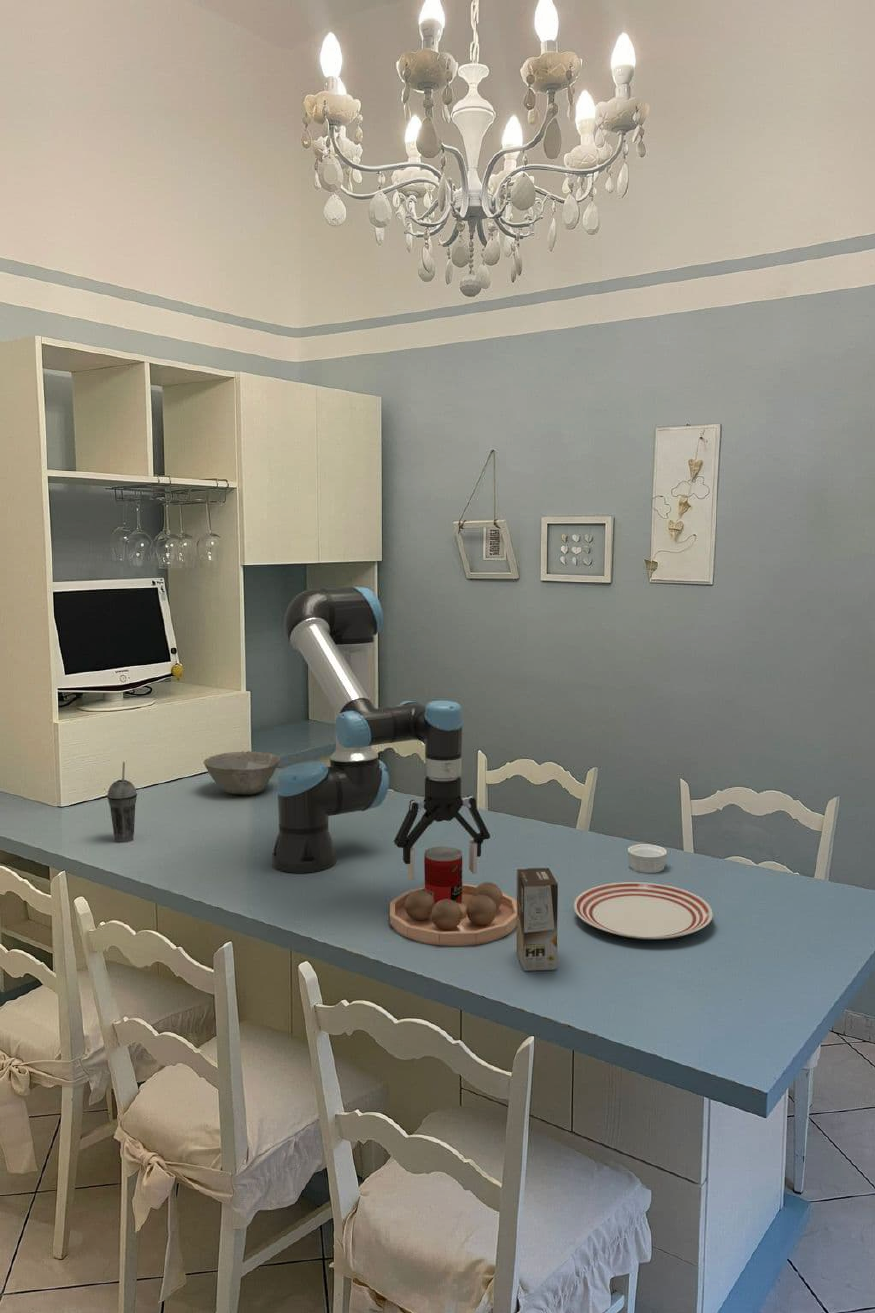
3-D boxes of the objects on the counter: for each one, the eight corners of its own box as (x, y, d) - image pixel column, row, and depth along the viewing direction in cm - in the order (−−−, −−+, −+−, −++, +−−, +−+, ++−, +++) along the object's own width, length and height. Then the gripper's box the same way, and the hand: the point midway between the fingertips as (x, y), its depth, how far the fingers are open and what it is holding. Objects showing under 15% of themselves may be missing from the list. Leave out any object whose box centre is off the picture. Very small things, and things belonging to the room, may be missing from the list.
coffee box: (558, 970, 179) (559, 884, 177) (523, 972, 179) (523, 885, 176) (548, 948, 188) (549, 867, 186) (514, 950, 188) (515, 868, 185)
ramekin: (666, 875, 227) (667, 857, 227) (627, 873, 229) (627, 855, 228) (665, 863, 236) (666, 845, 235) (627, 860, 237) (628, 843, 237)
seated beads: (394, 925, 197) (394, 896, 196) (437, 895, 213) (437, 868, 212) (477, 943, 189) (477, 913, 188) (515, 910, 205) (515, 882, 204)
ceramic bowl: (245, 806, 283) (244, 772, 282) (188, 795, 296) (187, 762, 294) (296, 789, 302) (296, 757, 300) (241, 779, 314) (240, 748, 313)
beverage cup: (103, 842, 252) (99, 765, 249) (122, 834, 259) (118, 758, 256) (126, 845, 249) (122, 767, 247) (145, 837, 256) (141, 761, 253)
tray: (365, 930, 197) (365, 918, 197) (428, 887, 220) (428, 877, 219) (484, 956, 185) (484, 943, 185) (538, 908, 208) (538, 897, 207)
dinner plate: (686, 962, 183) (687, 945, 182) (551, 930, 197) (551, 914, 197) (729, 912, 206) (729, 897, 205) (605, 887, 220) (605, 873, 220)
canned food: (458, 910, 205) (458, 859, 203) (420, 908, 206) (420, 856, 205) (465, 897, 212) (465, 847, 211) (428, 894, 214) (428, 845, 212)
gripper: (389, 785, 198) (388, 887, 201) (506, 776, 206) (504, 875, 209) (379, 776, 205) (380, 874, 209) (493, 767, 213) (491, 862, 216)
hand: (442, 874), depth 209 cm, fingers open, 13 cm apart
